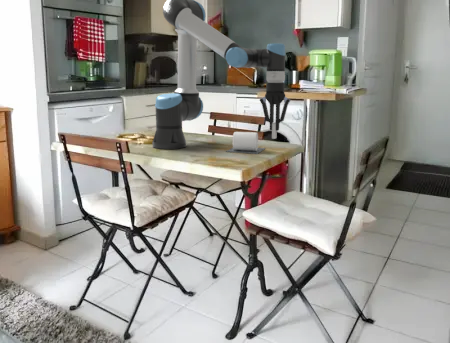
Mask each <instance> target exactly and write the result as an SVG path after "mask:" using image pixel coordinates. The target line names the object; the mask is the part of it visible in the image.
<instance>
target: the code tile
mask: <svg viewBox="0 0 450 343" xmlns="http://www.w3.org/2000/svg"><path fill="white" fill-rule="evenodd" d="M265 149H266V147H258V148H257V151H243V150H234V149H233V147H231V148H230V149H228V150H226V151H225V153H226V152H227V153H239V154H251V155H252V154H254V155H259V154H260V153H261V152H262V151H264V150H265Z"/></svg>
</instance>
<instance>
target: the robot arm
mask: <svg viewBox="0 0 450 343" xmlns="http://www.w3.org/2000/svg"><path fill="white" fill-rule="evenodd" d="M205 10H206V9H205V8H204V6H203V5H202V4H201V3H200V2H198V1H196V0H166V1H165V2H164V4H163V7H162V14H163V17H164V19H165V20H166V21H167V23H169V25H172V26H173V27H174V31H175V32H176V33H177V88H176V89H175V90H174V93H173V92H172V93H163V94H159V95H158V96H157V97H156V98H155V104H154V106H155V132H154V136H153V139H152V147H153V148H155V149H161V150H174V149H176V150H177V149H183V148H186V147H187V140H186V137H185V135H184V131H183V122H185V121H189V122H190V121H192V120H196V119H198V118H199V117H200V116H201V115H202V113H203V110H204V102H203V100H202V98H201V97H200V92H199V90H198V89H197V60H198V58H197V57H198V56H197V55H198V54H197V52H198V41H199V42H200V43H202V44H203V45H205V46H206V47H208V49H211V50H212V51H213V52H215V53H216V54H218V55H220V57H222V58H223V59H224V60H225V61H226V63H227V64H228V66H231V67H233V68H235V69H236V68H247V69H250V68H266V78H265V79H266V81H267V82H266V84H265V85H266V91H265V95H264V96H263V97H261V98H260V99H259V101H260V104H261V105H262V110H263V115H264V120H265V121H266V122H267V123H269V131H271V139H273V140H274V139H277V137H278V136H277V133H278V131H279V130H280V123H282V122H284V120H285V118H286V117H285V116H286V113H287V109H288V105H289V103H290V102H291V98H288V97H287V96H286V93H285V83H284V82H285V78H286V77H285V76H286V74H285V73H286V72H285V71H286V44H284V43H281V42H279V43H277V42H276V43H267V45H266V48H247V47H246V48H245V47H243V46H241V45H239V44H238V43H236V42H235V41H234V40H233V39H231V38H229V37H228V36H227V35H224V34H223V33H222V32H221V31H220V30H217V29H216V28H214V27H213V26H212V25H211V24H209V23H207V22H206V11H205ZM267 102H268V104H269V110H268V106H267ZM281 103H283V108H282V111H281ZM274 110H275V111H274ZM280 112H281V113H280ZM280 114H281V115H280ZM274 115H275V116H274ZM274 118H275V119H274ZM274 120H275V122H274Z"/></svg>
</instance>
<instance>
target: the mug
mask: <svg viewBox="0 0 450 343" xmlns="http://www.w3.org/2000/svg"><path fill="white" fill-rule="evenodd" d="M232 148H233V149H234V150H243V151H257V148H259V133H258V132H255V131H254V132H252V131H234V132H233V134H232Z"/></svg>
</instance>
